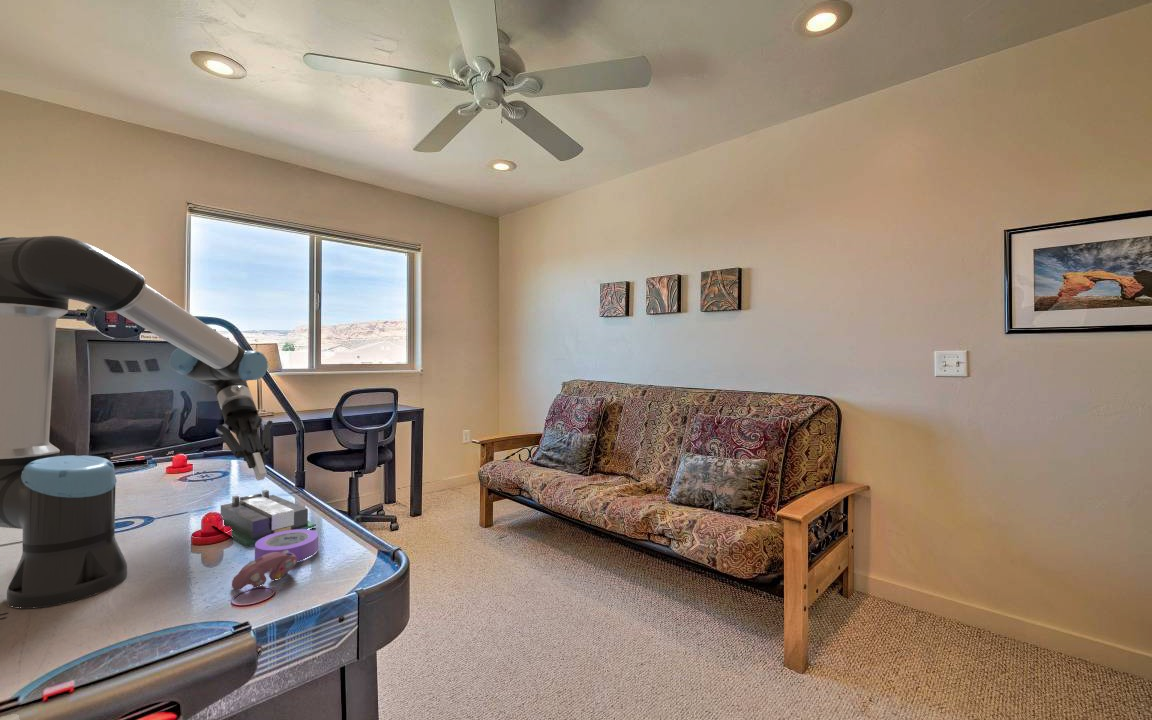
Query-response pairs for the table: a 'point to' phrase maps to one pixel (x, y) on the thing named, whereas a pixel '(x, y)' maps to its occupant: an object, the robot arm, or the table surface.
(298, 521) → the grey box device
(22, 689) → the table surface
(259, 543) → the masking tape
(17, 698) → the table surface
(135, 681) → the table surface
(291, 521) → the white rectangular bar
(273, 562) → the video game controller
